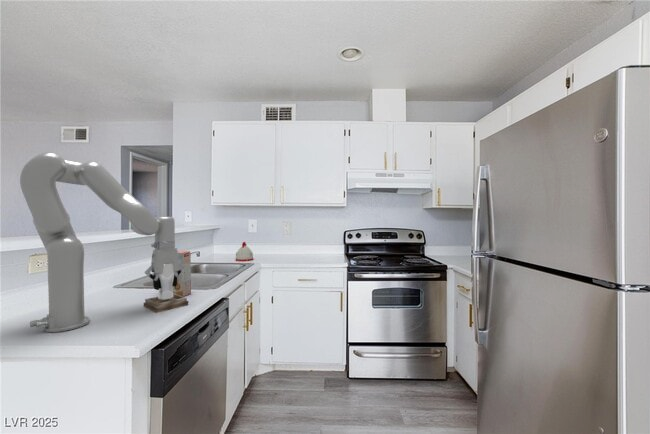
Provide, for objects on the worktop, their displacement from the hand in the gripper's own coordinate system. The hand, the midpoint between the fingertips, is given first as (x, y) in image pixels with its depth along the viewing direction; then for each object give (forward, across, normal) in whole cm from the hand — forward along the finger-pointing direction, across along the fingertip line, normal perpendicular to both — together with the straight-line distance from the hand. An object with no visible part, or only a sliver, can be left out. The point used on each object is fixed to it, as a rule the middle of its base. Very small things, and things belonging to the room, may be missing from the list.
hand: (165, 287), depth 129 cm
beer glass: (+5, 0, 0) cm, 5 cm away
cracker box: (+8, +10, +15) cm, 20 cm away
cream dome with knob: (+8, +92, +76) cm, 120 cm away
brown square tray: (+8, 0, 0) cm, 8 cm away
